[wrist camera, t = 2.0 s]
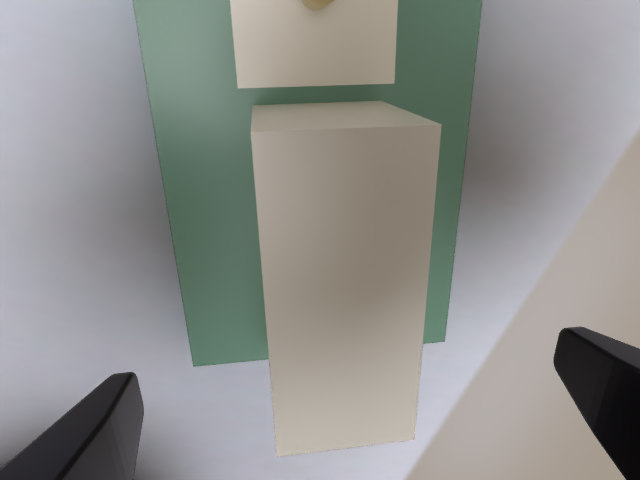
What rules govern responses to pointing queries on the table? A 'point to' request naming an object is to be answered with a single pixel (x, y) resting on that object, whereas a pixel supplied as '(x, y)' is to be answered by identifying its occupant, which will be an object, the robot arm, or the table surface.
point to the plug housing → (344, 267)
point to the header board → (288, 88)
